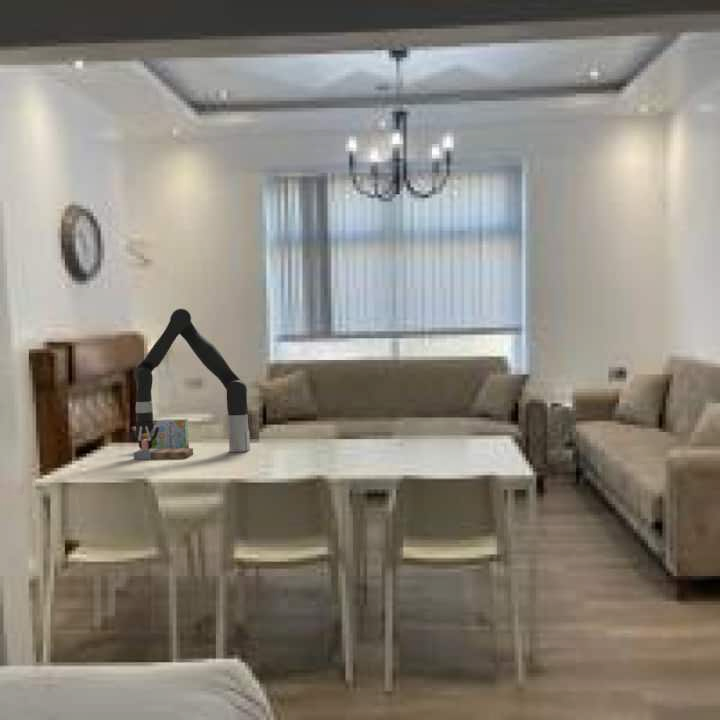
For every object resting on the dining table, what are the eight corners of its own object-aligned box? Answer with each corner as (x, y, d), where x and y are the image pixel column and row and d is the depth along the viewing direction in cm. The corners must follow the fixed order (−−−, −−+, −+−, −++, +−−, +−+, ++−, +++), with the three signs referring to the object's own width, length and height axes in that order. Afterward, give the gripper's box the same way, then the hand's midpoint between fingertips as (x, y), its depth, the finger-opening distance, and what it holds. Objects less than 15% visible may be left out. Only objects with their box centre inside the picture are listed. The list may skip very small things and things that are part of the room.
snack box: (189, 449, 445) (188, 418, 444) (186, 450, 439) (184, 419, 438) (147, 449, 447) (145, 419, 446) (143, 451, 441) (141, 420, 440)
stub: (158, 454, 427) (157, 437, 426) (151, 459, 415) (150, 441, 415) (141, 455, 427) (140, 438, 427) (133, 459, 415) (132, 441, 415)
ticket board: (193, 454, 426) (192, 447, 426) (186, 458, 414) (186, 451, 414) (159, 455, 427) (158, 448, 427) (151, 459, 415) (151, 452, 415)
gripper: (161, 410, 423) (163, 447, 424) (131, 410, 424) (133, 447, 425) (157, 411, 416) (158, 449, 417) (126, 412, 417) (128, 450, 418)
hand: (145, 448), depth 421 cm, fingers open, 3 cm apart
